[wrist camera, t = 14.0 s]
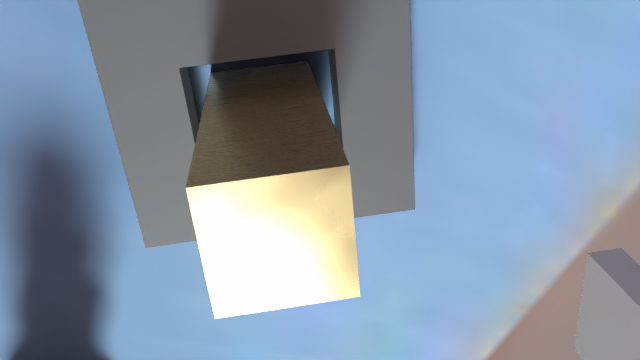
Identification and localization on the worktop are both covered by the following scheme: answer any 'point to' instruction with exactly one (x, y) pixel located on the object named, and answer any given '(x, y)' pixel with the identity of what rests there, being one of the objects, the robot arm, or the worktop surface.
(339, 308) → the worktop surface
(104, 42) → the socket plate
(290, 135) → the brass peg
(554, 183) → the worktop surface
